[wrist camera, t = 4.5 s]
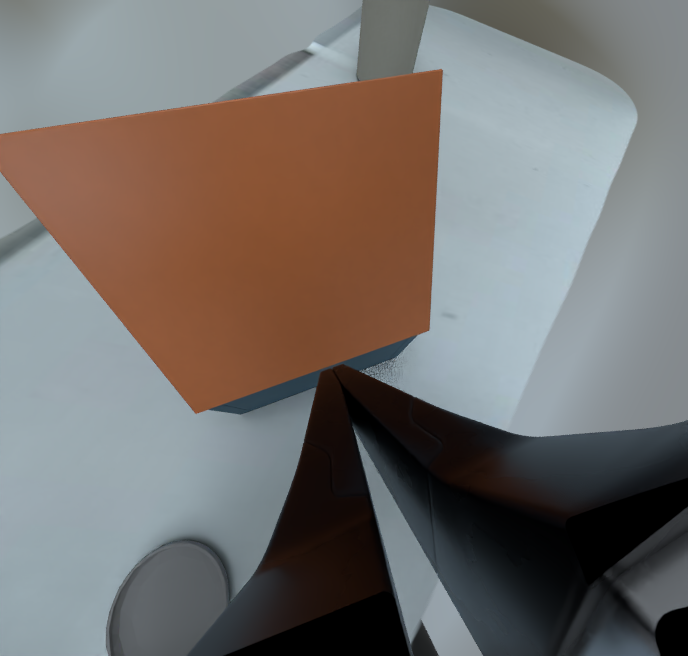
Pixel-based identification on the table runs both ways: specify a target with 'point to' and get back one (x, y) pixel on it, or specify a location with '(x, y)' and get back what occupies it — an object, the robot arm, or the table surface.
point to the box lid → (249, 226)
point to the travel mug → (390, 37)
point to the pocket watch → (167, 602)
